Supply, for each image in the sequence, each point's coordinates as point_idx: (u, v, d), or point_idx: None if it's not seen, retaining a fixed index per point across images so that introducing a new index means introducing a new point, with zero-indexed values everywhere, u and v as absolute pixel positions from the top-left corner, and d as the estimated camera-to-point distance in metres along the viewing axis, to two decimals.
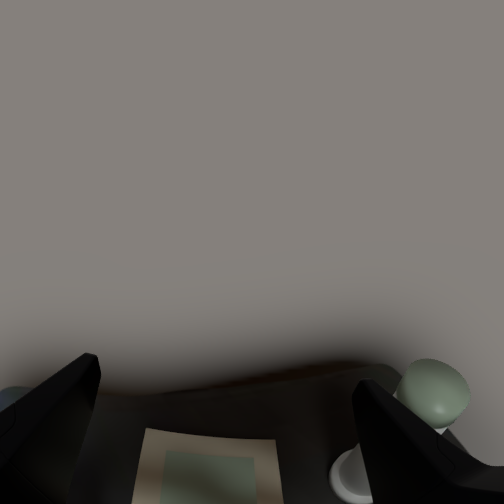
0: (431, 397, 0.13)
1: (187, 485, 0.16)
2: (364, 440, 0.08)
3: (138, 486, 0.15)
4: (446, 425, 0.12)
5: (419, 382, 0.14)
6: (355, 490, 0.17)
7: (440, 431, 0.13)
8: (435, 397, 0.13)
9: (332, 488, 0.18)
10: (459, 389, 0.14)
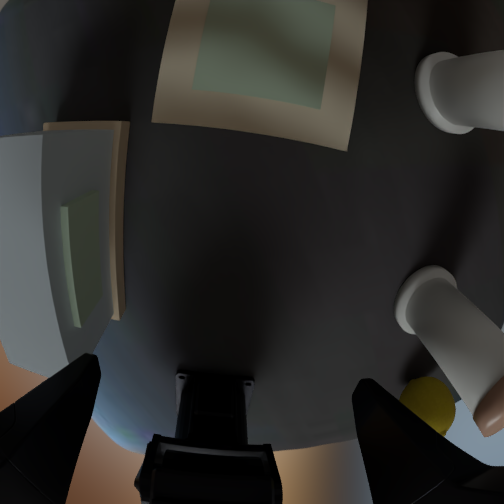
0: None
1: (238, 29, 0.13)
2: (364, 440, 0.08)
3: (171, 37, 0.13)
4: None
5: None
6: (441, 106, 0.14)
7: None
8: None
9: (416, 85, 0.15)
10: None
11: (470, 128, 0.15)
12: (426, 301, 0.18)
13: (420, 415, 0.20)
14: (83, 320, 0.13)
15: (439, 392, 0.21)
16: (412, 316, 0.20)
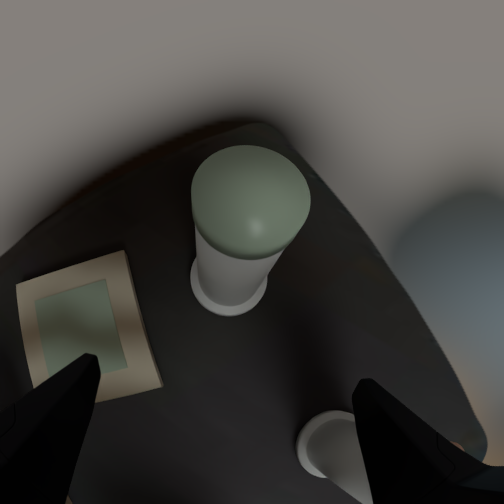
0: (228, 217, 0.12)
1: (58, 332, 0.19)
2: (364, 440, 0.08)
3: (27, 350, 0.18)
4: (268, 255, 0.13)
5: (211, 191, 0.12)
6: (216, 301, 0.22)
7: (266, 258, 0.13)
8: (235, 217, 0.12)
9: (196, 297, 0.23)
10: (289, 199, 0.12)
11: (262, 292, 0.23)
12: (313, 451, 0.18)
13: None
14: None
15: None
16: (315, 467, 0.17)
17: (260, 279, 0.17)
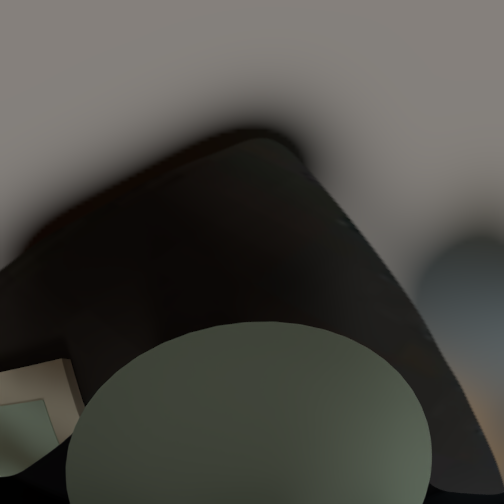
0: None
1: (2, 455, 0.09)
2: None
3: None
4: None
5: None
6: None
7: None
8: None
9: None
10: None
11: None
12: None
13: None
14: None
15: None
16: None
17: None
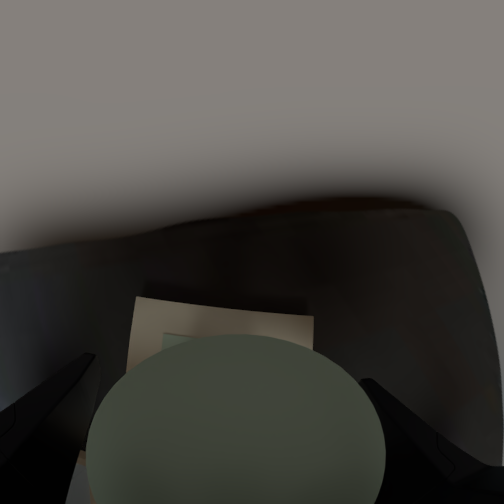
0: None
1: None
2: None
3: None
4: None
5: (137, 490, 0.03)
6: None
7: None
8: None
9: None
10: (336, 487, 0.04)
11: None
12: None
13: None
14: None
15: None
16: None
17: None
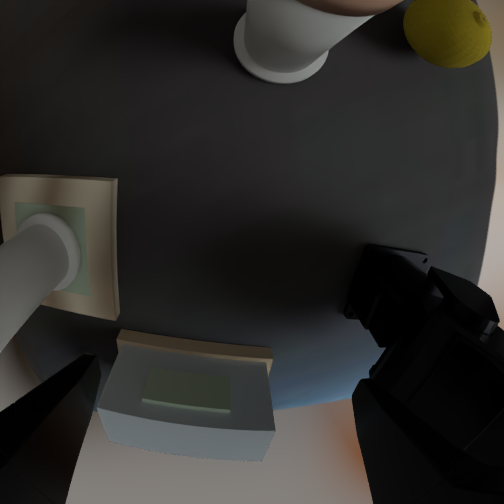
0: None
1: None
2: (364, 440, 0.08)
3: (62, 306, 0.21)
4: None
5: None
6: (64, 272, 0.18)
7: None
8: None
9: None
10: None
11: (50, 221, 0.17)
12: (261, 59, 0.14)
13: (447, 47, 0.11)
14: (227, 405, 0.18)
15: (417, 15, 0.11)
16: (288, 70, 0.15)
17: (12, 277, 0.12)
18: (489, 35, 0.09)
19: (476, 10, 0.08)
